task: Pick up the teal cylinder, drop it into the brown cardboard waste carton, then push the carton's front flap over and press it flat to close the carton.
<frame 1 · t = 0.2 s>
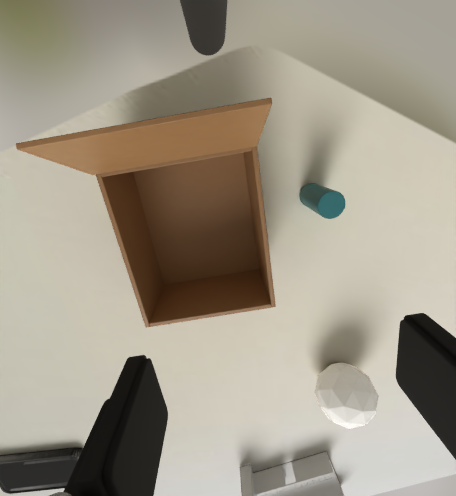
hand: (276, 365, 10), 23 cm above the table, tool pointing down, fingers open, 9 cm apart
carton: (200, 222, 31), on the table
teal cylinder: (310, 194, 31), on the table
phone: (45, 466, 45), on the table
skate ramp: (291, 475, 48), on the table
geometric ball: (333, 371, 40), on the table
flap: (161, 145, 17), point 13 cm above the table, hinge at 105.0°
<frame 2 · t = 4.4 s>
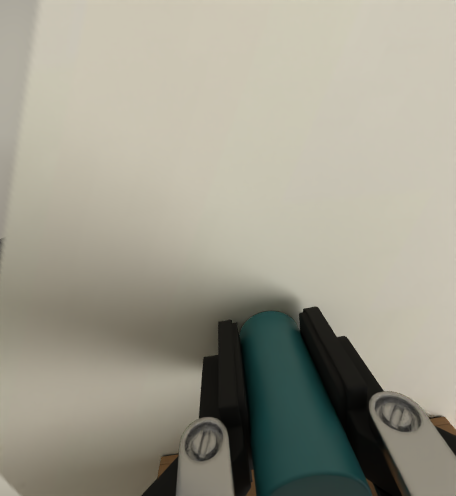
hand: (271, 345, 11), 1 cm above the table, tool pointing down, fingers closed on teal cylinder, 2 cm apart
teal cylinder: (268, 335, 12), on the table, touching gripper
when the fingers open (8 cm above the table, at t = 9.6 s): teal cylinder drops 7 cm, resting on carton.
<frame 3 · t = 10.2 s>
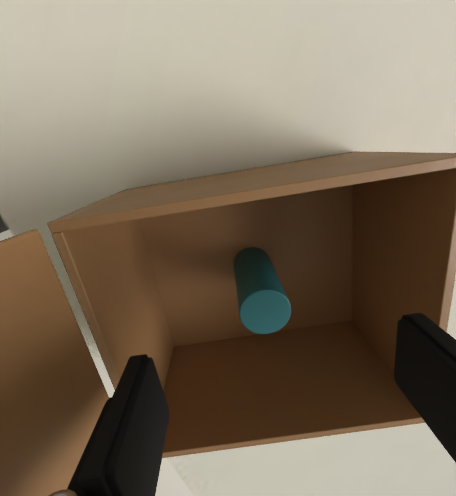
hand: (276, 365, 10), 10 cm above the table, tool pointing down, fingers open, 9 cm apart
carton: (251, 261, 19), on the table
teal cylinder: (251, 264, 19), resting on carton
flap: (13, 477, 8), point 13 cm above the table, hinge at 105.0°
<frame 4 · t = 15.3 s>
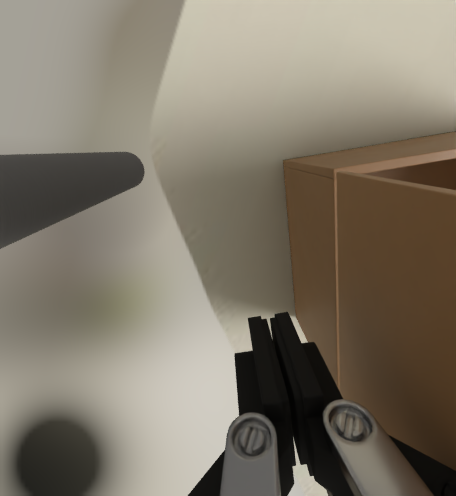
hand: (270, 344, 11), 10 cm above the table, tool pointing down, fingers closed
carton: (386, 231, 20), on the table
flap: (389, 380, 9), point 13 cm above the table, hinge at 90.4°, touching gripper
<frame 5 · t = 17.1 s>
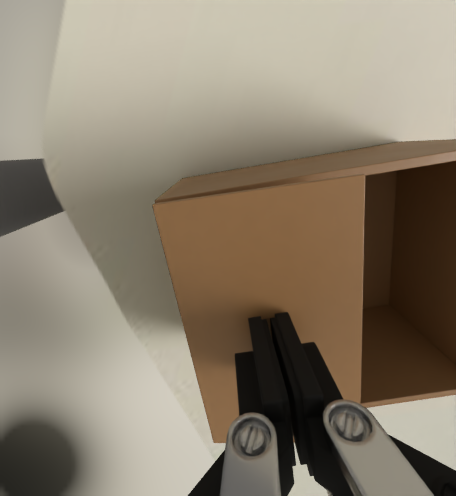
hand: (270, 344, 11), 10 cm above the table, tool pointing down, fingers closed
carton: (296, 248, 20), on the table
flap: (271, 338, 11), point 9 cm above the table, hinge at 7.6°
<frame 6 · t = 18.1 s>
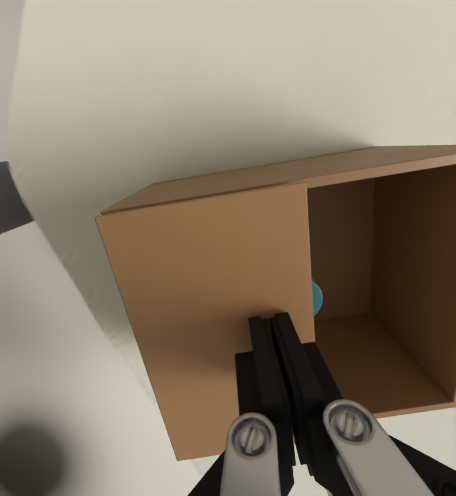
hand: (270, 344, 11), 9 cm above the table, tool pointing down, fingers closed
carton: (273, 255, 20), on the table
flap: (228, 347, 11), point 9 cm above the table, hinge at -0.4°, touching gripper
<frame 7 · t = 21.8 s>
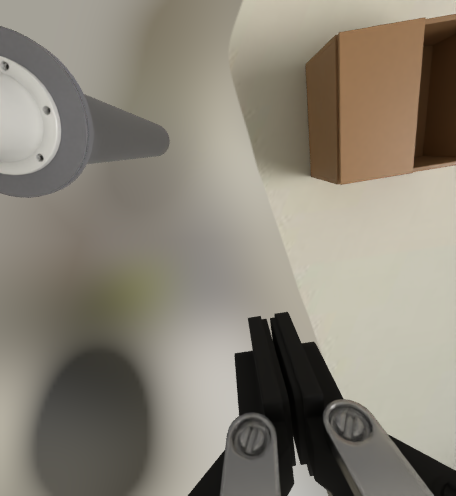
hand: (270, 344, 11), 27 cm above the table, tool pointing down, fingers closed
carton: (367, 114, 33), on the table
flap: (378, 108, 25), point 9 cm above the table, hinge at -0.4°
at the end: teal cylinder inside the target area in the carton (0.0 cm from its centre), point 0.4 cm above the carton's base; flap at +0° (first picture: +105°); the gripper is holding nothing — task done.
